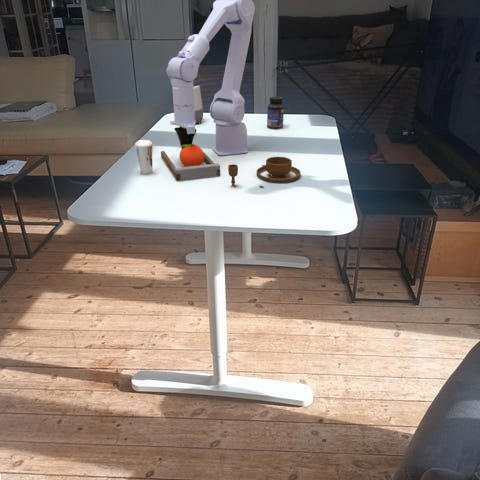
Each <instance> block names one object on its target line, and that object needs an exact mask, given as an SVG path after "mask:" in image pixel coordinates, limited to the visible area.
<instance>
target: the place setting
mask: <svg viewBox="0 0 480 480" xmlns="http://www.w3.org/2000/svg"><path fill="white" fill-rule="evenodd" d="M292 163H293V161H292V159H290V158H289V157H286V156H272V157H268V158H266V160H265V164H262V165H261V166H260V167H259V168H258V169H256V176H257V177H258V178H259V179H260V180H262V181H264V182H268V183H272V184H274V183H275V184H286V183H287V184H288V183H291V182H292V183H293V182H294V181H297V180H298V179H299V178H300V176H301V170H300V169H298V167H295V166H292ZM227 170H228V176H229V177H231V181H230V182H231V185H230V187H232V188H235V187H236V184H235V183H236V180H235V177H237V176H238V175H239V174H238V173H239V165H238V164H233V163H232V164H228V167H227ZM264 172H267V173H268V174H269V175H270V176H271V177H267V176H264V175H262V174H263V173H264ZM289 173H293V174H294V175H295V176H293V177H288V178H285V177H286V176H287V175H289ZM258 186H259V188H260V189H261V188H262V189H265V186H263V185H258Z"/></svg>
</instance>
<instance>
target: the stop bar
mask: <svg viewBox="0 0 480 480" xmlns="http://www.w3.org/2000/svg"><path fill="white" fill-rule="evenodd" d="M217 169H218V170H217ZM219 169H220V171H219ZM217 171H219V172H218V173H220V174H219V175H220V176H221V165H220V163H215V164H208V165H206V164H201V165H198V166H189V167H185V166H182V167H176V168H175V175H176V176H175V178H174V179H175V181H176V182H182V181H191V180H199V179H207V178H216V177H218V176H217ZM177 174H178V175H179V174H180V175H179V177H180V178H181V179H179V177H178V179H179V180H178V179H177V180H178V181H177V180H176V178H177V176H178V175H177Z"/></svg>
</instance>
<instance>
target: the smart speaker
mask: <svg viewBox="0 0 480 480" xmlns="http://www.w3.org/2000/svg"><path fill="white" fill-rule="evenodd" d="M194 107H195V120H196V124H195V125H198V124H201V123H202V122H203V119H204V107H203V100H202V94H201V85H195V86H194Z"/></svg>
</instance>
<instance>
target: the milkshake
mask: <svg viewBox="0 0 480 480" xmlns="http://www.w3.org/2000/svg"><path fill="white" fill-rule="evenodd" d="M134 145H135V151H136V155H137V159H138V160H137V161H138V165H139V171H140V174H141V175H151V174H152V173H153V169H154V168H153V142H152V141H151V140H150V134H149V133H148V134H147V139H139V140H137V141H136V142H135V144H134Z"/></svg>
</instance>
